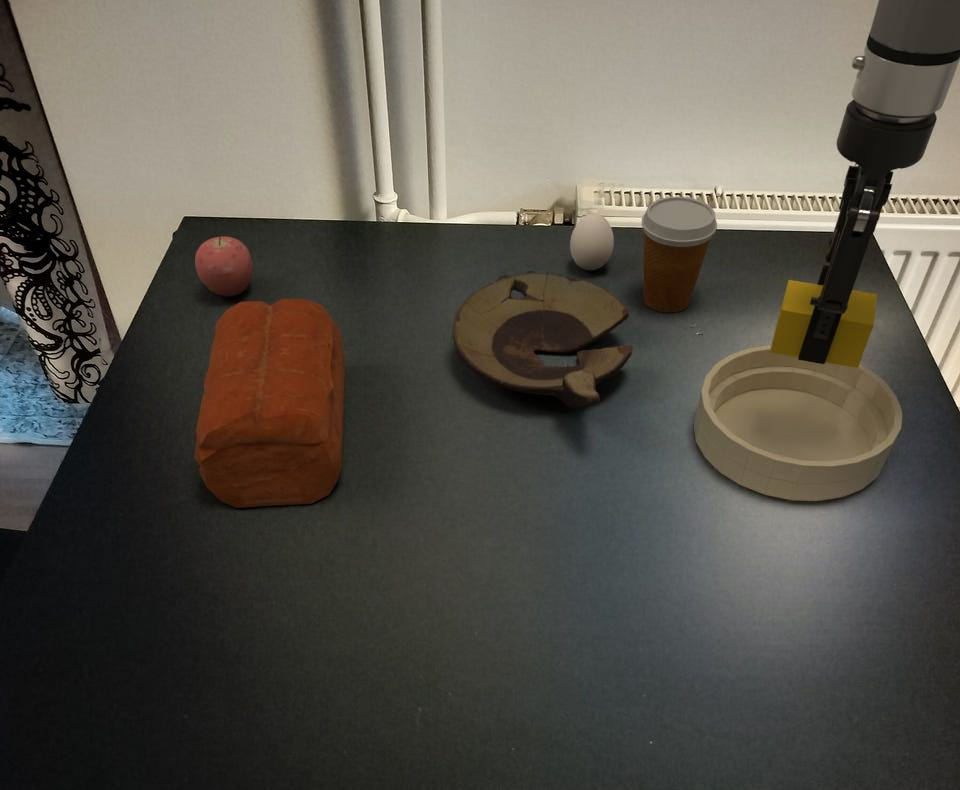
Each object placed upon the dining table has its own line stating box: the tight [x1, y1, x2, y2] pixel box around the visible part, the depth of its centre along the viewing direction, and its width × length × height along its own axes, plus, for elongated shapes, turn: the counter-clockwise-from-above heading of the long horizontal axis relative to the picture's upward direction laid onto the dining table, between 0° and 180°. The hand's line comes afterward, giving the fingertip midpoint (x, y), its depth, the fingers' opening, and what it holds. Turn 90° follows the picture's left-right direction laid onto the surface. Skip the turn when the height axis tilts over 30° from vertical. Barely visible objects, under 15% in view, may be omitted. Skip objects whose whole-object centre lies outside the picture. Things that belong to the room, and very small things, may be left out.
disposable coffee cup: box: [641, 196, 718, 313], centre depth 117 cm, size 10×10×12 cm
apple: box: [194, 236, 254, 298], centre depth 120 cm, size 7×7×8 cm
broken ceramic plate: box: [451, 270, 634, 408], centre depth 108 cm, size 22×30×8 cm
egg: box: [569, 212, 615, 271], centre depth 124 cm, size 6×6×8 cm
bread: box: [194, 298, 346, 509], centre depth 101 cm, size 16×27×11 cm, turn 4°
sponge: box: [770, 279, 878, 368], centre depth 93 cm, size 9×6×5 cm, turn 71°
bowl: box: [693, 344, 903, 502], centre depth 101 cm, size 22×22×6 cm
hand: (814, 342), depth 94 cm, fingers closed on sponge, 6 cm apart
